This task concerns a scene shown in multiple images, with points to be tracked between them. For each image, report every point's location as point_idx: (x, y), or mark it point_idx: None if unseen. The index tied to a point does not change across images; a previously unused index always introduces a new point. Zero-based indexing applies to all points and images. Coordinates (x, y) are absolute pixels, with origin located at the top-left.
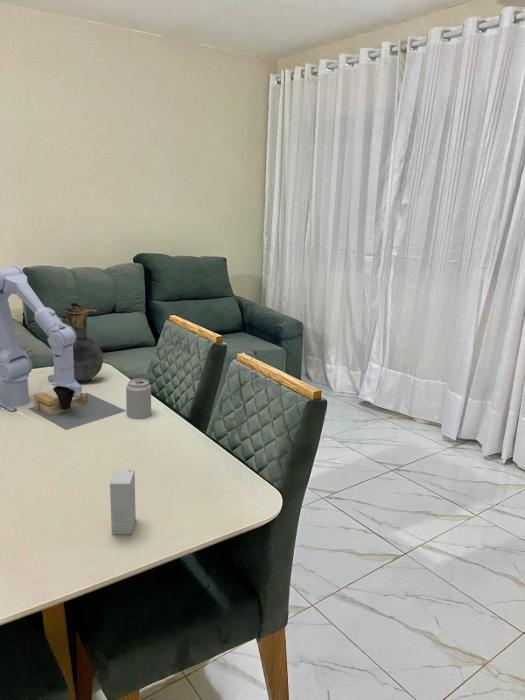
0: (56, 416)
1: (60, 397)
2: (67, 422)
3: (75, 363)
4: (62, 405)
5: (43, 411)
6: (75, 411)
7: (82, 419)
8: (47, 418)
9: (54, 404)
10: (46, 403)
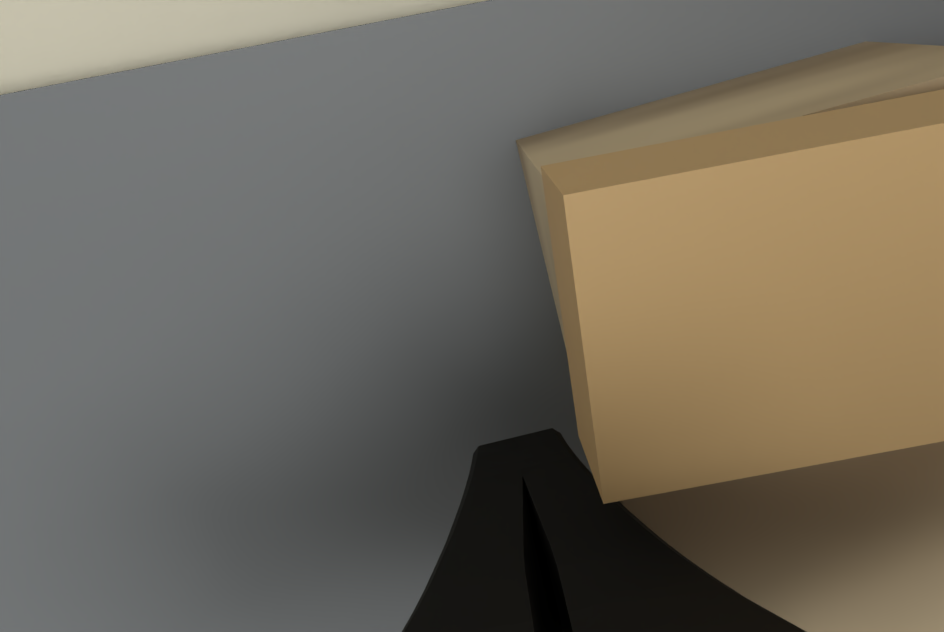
0: (424, 241)
1: (570, 617)
2: (22, 317)
3: None
4: (498, 481)
5: (765, 79)
6: None
7: (66, 557)
8: (418, 46)
9: None
10: (671, 147)
